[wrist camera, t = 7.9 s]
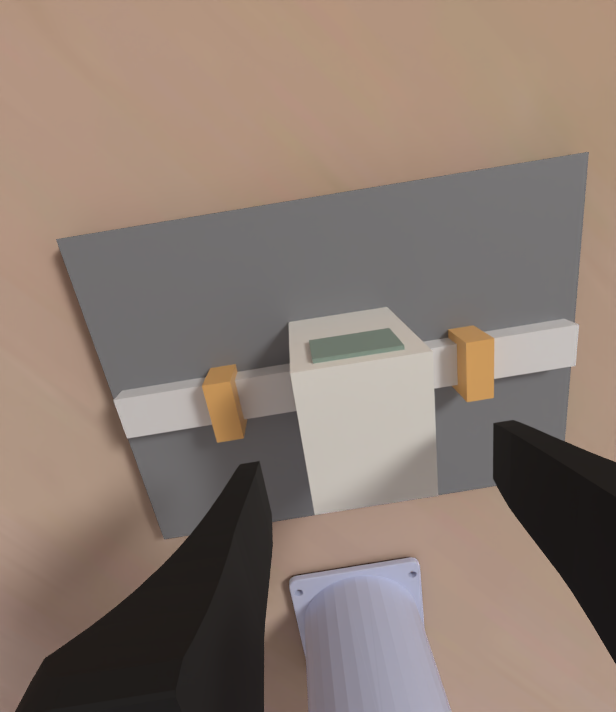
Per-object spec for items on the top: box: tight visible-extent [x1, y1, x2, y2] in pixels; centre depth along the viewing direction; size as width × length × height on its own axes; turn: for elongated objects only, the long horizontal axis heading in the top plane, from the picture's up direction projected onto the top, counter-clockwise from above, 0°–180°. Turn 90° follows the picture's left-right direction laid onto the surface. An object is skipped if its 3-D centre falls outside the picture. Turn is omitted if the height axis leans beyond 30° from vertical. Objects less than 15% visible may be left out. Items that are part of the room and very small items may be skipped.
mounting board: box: [56, 152, 589, 539], centre depth 19 cm, size 16×22×3 cm
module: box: [289, 307, 438, 515], centre depth 16 cm, size 6×4×6 cm
